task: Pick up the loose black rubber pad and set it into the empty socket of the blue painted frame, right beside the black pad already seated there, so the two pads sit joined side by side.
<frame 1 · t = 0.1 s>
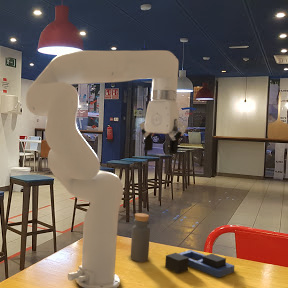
hand: (160, 151, 119), 37 cm above the table, tool pointing down, fingers open, 9 cm apart
pad b: (176, 268, 119), on the table
pad a: (213, 269, 120), resting in frame
bottle: (139, 259, 126), on the table
frame: (203, 265, 123), on the table
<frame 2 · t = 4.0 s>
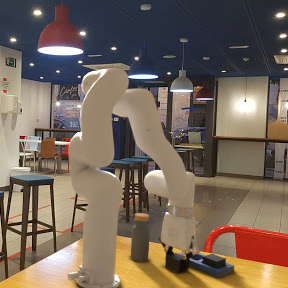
hand: (176, 266, 119), 1 cm above the table, tool pointing down, fingers closed on pad b, 5 cm apart
pad b: (176, 268, 119), on the table, touching gripper
everything else where it was.
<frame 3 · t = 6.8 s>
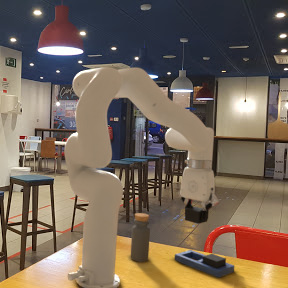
hand: (195, 219, 124), 15 cm above the table, tool pointing down, fingers closed on pad b, 5 cm apart
pad b: (195, 220, 124), point 14 cm above the table, touching gripper
everything else where it was.
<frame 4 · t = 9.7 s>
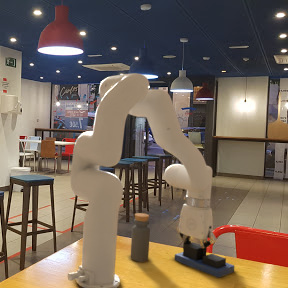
hand: (194, 255, 125), 2 cm above the table, tool pointing down, fingers closed on pad b, 5 cm apart
pad b: (194, 257, 126), point 2 cm above the table, touching gripper
everything else where it was.
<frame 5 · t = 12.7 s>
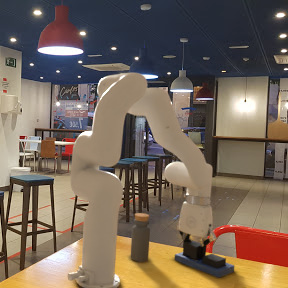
hand: (193, 253, 125), 3 cm above the table, tool pointing down, fingers closed on pad b, 4 cm apart
pad b: (193, 255, 125), point 2 cm above the table, touching gripper
everything else where it was.
when the fingers open (3 cm above the table, at t = 15.3 s): pad b drops 2 cm, resting in frame.
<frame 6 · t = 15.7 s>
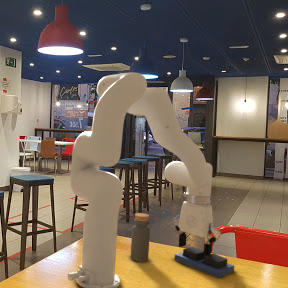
hand: (194, 250, 125), 4 cm above the table, tool pointing down, fingers open, 9 cm apart
pad b: (193, 262, 126), resting in frame
pad a: (214, 269, 120), resting in frame, touching gripper
everything else where it was.
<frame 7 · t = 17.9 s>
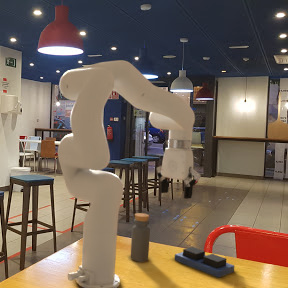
hand: (175, 195, 128), 21 cm above the table, tool pointing down, fingers open, 9 cm apart
pad a: (214, 269, 120), resting in frame
everything else where it was.
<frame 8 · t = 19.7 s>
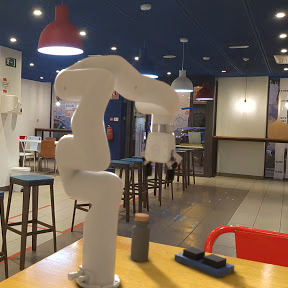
hand: (158, 178, 132), 26 cm above the table, tool pointing down, fingers open, 9 cm apart
nothing on the table moved.
at the end: pad b 0.1 cm from the target spot in the frame, point 0.0 cm above the frame's base; pad b tilted 0°; pad a moved 0.2 cm from its start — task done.
